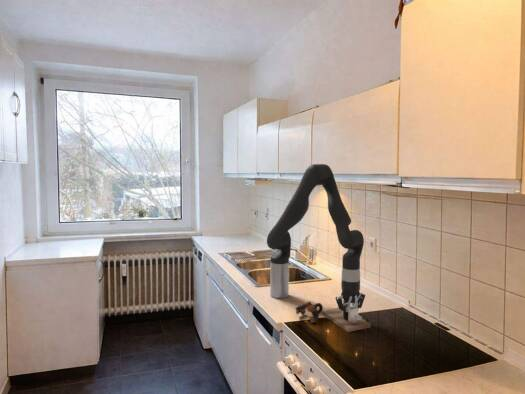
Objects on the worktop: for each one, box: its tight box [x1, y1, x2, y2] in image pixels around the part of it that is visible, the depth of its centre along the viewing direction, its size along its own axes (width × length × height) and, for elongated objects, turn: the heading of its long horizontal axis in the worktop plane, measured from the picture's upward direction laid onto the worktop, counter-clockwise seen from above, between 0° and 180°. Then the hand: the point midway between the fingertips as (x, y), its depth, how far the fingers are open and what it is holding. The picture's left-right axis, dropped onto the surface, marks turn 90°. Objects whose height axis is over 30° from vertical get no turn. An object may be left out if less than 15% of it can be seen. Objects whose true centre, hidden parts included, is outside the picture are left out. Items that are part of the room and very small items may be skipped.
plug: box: [342, 304, 363, 323], centre depth 156 cm, size 11×4×6 cm, turn 23°
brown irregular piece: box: [295, 301, 324, 324], centre depth 163 cm, size 12×10×8 cm
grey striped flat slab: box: [320, 307, 372, 333], centre depth 160 cm, size 20×11×2 cm, turn 23°
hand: (350, 318), depth 157 cm, fingers closed on plug, 3 cm apart
